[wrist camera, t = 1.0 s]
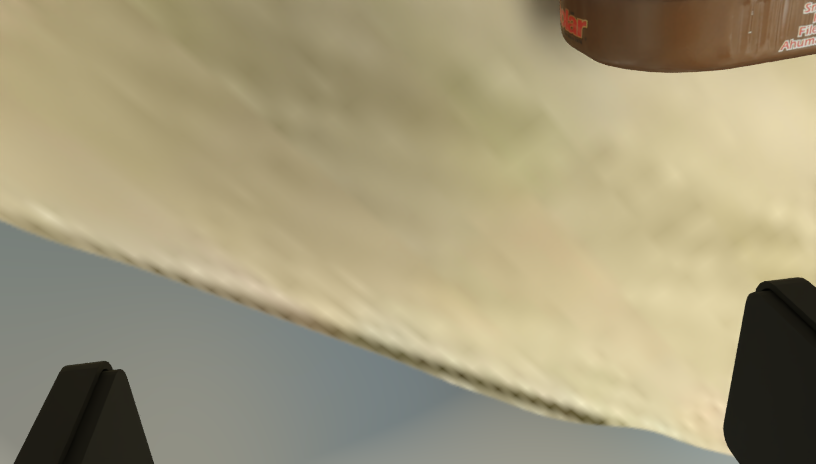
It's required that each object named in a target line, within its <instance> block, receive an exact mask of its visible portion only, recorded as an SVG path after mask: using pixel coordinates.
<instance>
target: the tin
mask: <svg viewBox="0 0 816 464" xmlns="http://www.w3.org/2000/svg"><path fill="white" fill-rule="evenodd" d="M560 21H561V30H562V34H563V37H564V39H565V40H566V41H567V43H569V44H570V45H571V46H572V47H574V48H575V49H577V50H578V51H580V52H582V53H584V54H585V55H587V56H588V57H590V58H592V59H593V60H595V61H597V62H599V63H602V64H605V65H608V66H613V67H618V68H623V69H630V70H638V71H647V72H665V73H678V72H701V71H714V70H724V69H731V68H737V67H743V66H749V65H755V64H761V63H766V62H773V61H779V60H784V59H790V58H796V57H801V56H806V55H812V54H816V0H560Z"/></svg>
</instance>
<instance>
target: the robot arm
mask: <svg viewBox="0 0 816 464" xmlns="http://www.w3.org/2000/svg"><path fill="white" fill-rule="evenodd" d="M723 430H724V437H725V441H726V443H727V446H728V448H729V449H730V451H731V452H732V454H733V455H734V457H735V458H736V460H737V461H738V462H739V464H816V287H815V286H813V285H812V284H811V283H810V282H809V281H807V280H805V279H804V278H798V277H797V278H788V279H780V280H772V281H764V282H762V283H760V284H759V285H758V287H757V288H756V292H753V293H750V294H749V296H748V297H747V300H746V304H745V310H744V315H743V320H742V326H741V331H740V337H739V342H738V348H737V353H736V359H735V364H734V370H733V375H732V381H731V386H730V392H729V397H728V403H727V408H726V414H725V419H724V426H723ZM14 464H154V462H153V459H152V456H151V453H150V449H149V446H148V443H147V440H146V436H145V433H144V430H143V427H142V424H141V420H140V417H139V414H138V411H137V408H136V405H135V401H134V398H133V395H132V392H131V389H130V385H129V382H128V379H127V376H126V374H125V372H124V371H123V370H121V369H118V370H113V369H112V367H111V365H110V364H109V362H107V361H100V362H92V363H84V364H75V365H67V366H65V367H63V368H62V370H61V371H60V372H59V374H58V376H57V379H56V380H55V383H54V385H53V386H52V389H51V390H50V392H49V394H48V396H47V398H46V400H45V402H44V405H43V406H42V408H41V410H40V413H39V415H38V416H37V418H36V420H35V422H34V424H33V426H32V428H31V430H30V432H29V434H28V436H27V438H26V441H25V442H24V444H23V446H22V448H21V450H20V452H19V454H18V456H17V458H16V460H15V462H14Z"/></svg>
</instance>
